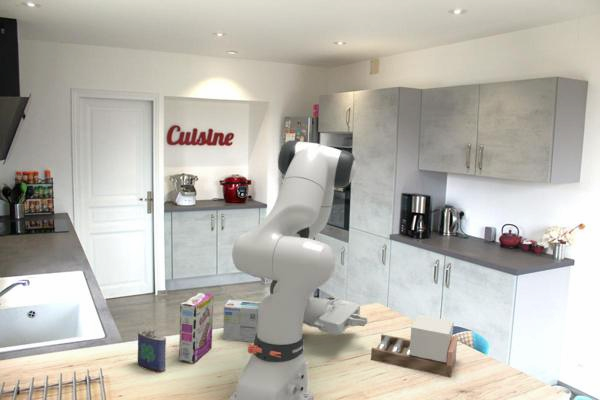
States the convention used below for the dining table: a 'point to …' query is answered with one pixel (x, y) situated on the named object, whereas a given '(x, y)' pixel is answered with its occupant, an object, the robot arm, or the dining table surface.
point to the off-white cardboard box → (431, 338)
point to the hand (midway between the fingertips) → (366, 322)
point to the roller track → (398, 354)
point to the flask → (151, 351)
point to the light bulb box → (240, 320)
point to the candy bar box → (195, 327)
